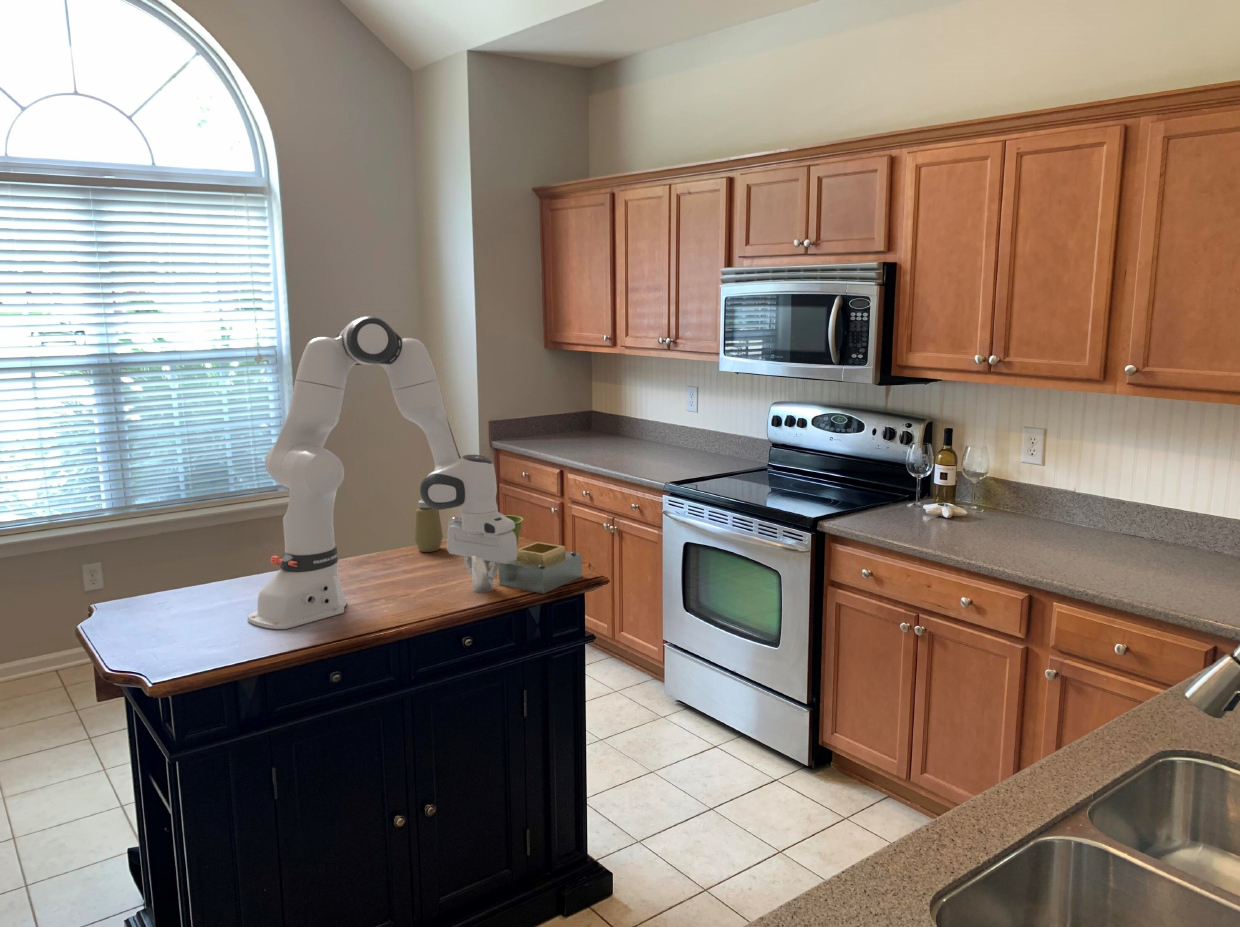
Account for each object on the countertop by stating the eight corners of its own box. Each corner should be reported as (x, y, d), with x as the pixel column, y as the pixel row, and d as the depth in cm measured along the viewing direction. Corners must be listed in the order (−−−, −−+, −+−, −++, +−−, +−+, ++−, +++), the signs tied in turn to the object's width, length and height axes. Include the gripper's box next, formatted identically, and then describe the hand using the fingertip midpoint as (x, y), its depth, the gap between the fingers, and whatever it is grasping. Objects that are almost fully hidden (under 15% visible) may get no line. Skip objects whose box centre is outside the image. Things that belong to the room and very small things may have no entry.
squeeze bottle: (415, 554, 267) (411, 492, 264) (414, 547, 275) (410, 486, 272) (444, 552, 269) (441, 490, 266) (442, 544, 277) (438, 484, 274)
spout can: (484, 593, 232) (482, 550, 230) (468, 590, 234) (466, 547, 232) (497, 588, 236) (495, 545, 234) (482, 585, 238) (480, 542, 236)
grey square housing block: (543, 593, 231) (542, 559, 229) (499, 584, 239) (498, 552, 237) (582, 576, 244) (581, 544, 243) (539, 568, 252) (537, 537, 250)
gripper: (439, 518, 235) (442, 572, 237) (503, 528, 224) (505, 585, 226) (457, 513, 240) (460, 566, 243) (520, 523, 229) (522, 578, 231)
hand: (482, 575), depth 234 cm, fingers closed on spout can, 5 cm apart
